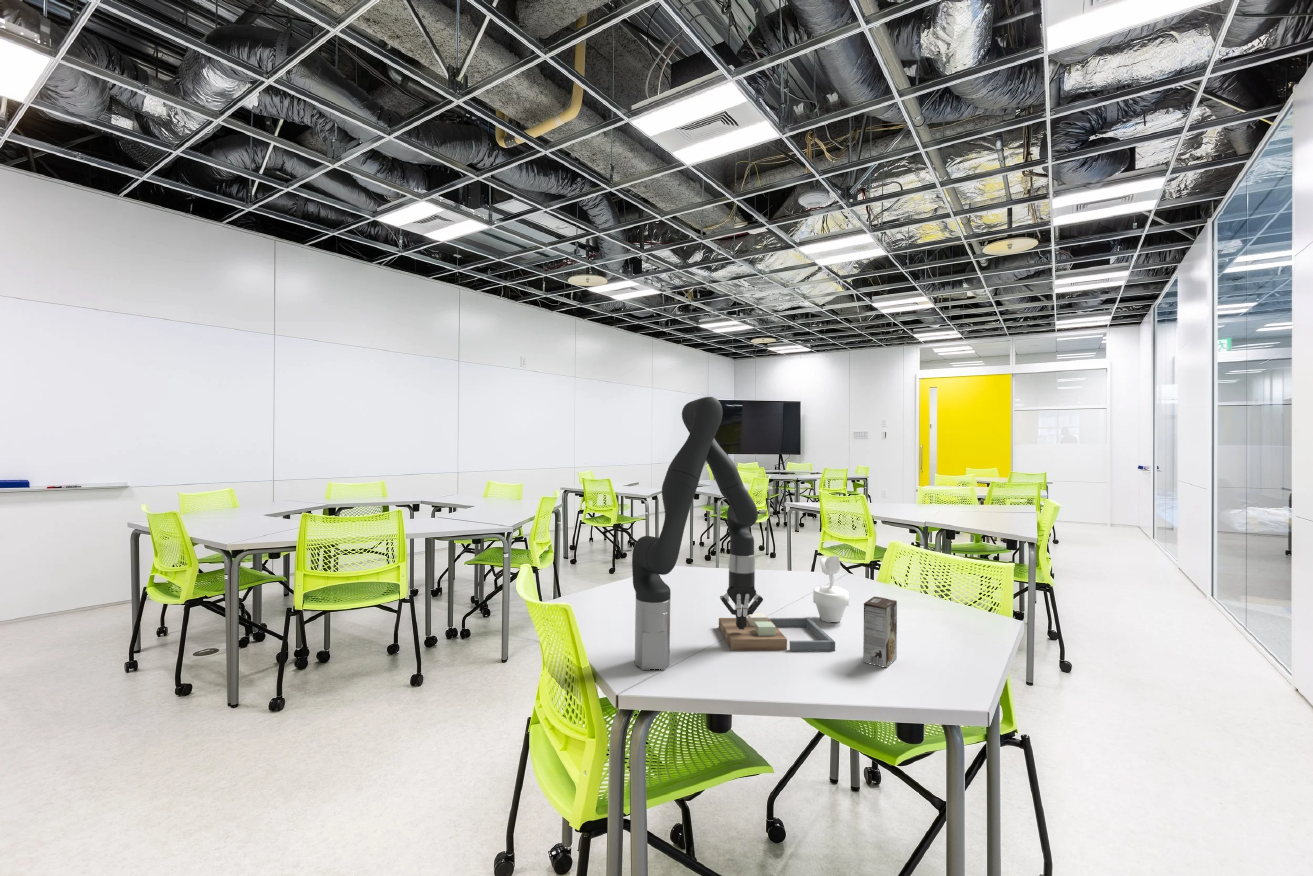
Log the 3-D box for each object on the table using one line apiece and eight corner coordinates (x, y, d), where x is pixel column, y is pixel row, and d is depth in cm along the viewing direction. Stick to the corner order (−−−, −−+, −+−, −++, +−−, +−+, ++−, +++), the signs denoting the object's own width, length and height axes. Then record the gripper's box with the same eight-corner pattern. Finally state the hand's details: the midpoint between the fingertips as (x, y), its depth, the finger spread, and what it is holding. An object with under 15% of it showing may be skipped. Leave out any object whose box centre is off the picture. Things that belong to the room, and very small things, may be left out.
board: (786, 649, 162) (787, 639, 162) (731, 650, 161) (731, 639, 161) (768, 627, 182) (768, 617, 182) (718, 627, 181) (718, 618, 181)
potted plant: (853, 626, 184) (854, 548, 184) (817, 625, 184) (818, 548, 184) (841, 614, 197) (842, 542, 197) (808, 613, 197) (809, 541, 197)
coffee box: (873, 653, 160) (874, 595, 160) (897, 659, 156) (898, 600, 156) (862, 662, 153) (862, 602, 153) (886, 668, 149) (887, 607, 149)
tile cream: (767, 625, 174) (767, 617, 174) (751, 625, 173) (751, 617, 173) (763, 620, 179) (763, 612, 179) (747, 620, 178) (747, 612, 178)
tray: (835, 650, 162) (835, 641, 162) (790, 651, 161) (791, 642, 161) (808, 625, 184) (808, 617, 184) (769, 625, 183) (769, 618, 183)
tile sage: (775, 635, 165) (775, 626, 165) (758, 635, 164) (758, 627, 164) (770, 630, 170) (770, 621, 170) (754, 630, 169) (754, 621, 169)
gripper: (721, 572, 163) (721, 633, 162) (767, 572, 163) (766, 632, 163) (717, 566, 170) (716, 624, 170) (760, 566, 171) (760, 624, 171)
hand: (741, 628), depth 167 cm, fingers closed
